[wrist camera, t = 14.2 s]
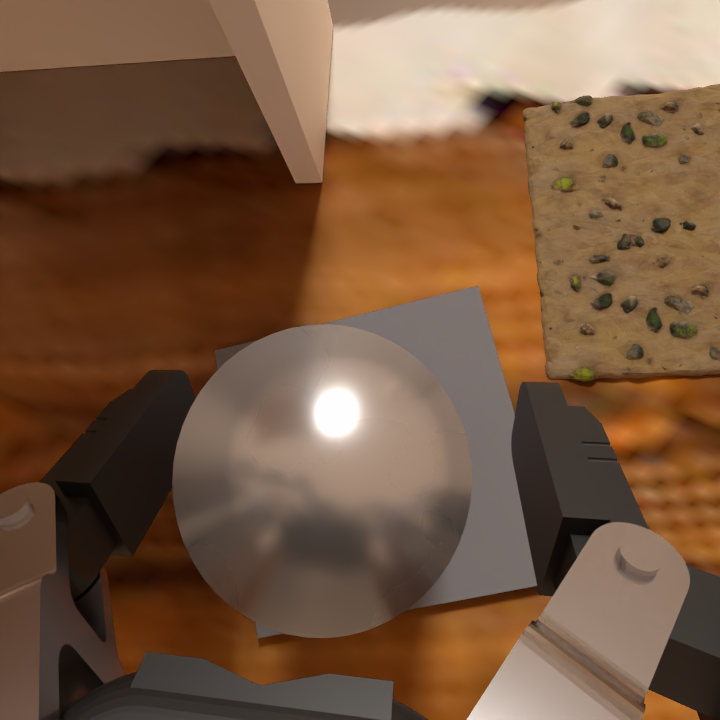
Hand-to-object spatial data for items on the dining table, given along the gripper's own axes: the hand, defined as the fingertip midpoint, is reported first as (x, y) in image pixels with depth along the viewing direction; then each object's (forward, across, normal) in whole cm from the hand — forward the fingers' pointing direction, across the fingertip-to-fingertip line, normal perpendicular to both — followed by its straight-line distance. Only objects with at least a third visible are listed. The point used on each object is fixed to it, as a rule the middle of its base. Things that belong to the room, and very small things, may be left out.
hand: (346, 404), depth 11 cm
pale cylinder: (+4, 0, +6) cm, 7 cm away
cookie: (+11, -12, 0) cm, 16 cm away
